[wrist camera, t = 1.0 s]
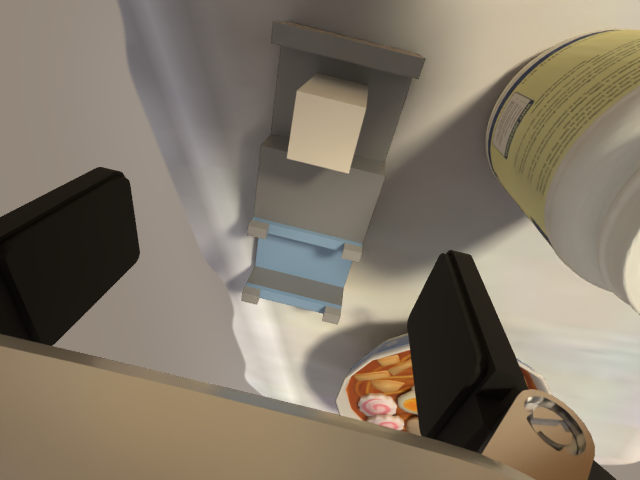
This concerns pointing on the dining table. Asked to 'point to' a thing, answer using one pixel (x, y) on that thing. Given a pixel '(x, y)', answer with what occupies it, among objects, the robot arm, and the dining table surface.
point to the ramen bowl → (394, 387)
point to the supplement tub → (577, 154)
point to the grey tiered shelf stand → (322, 172)
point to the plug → (327, 122)
